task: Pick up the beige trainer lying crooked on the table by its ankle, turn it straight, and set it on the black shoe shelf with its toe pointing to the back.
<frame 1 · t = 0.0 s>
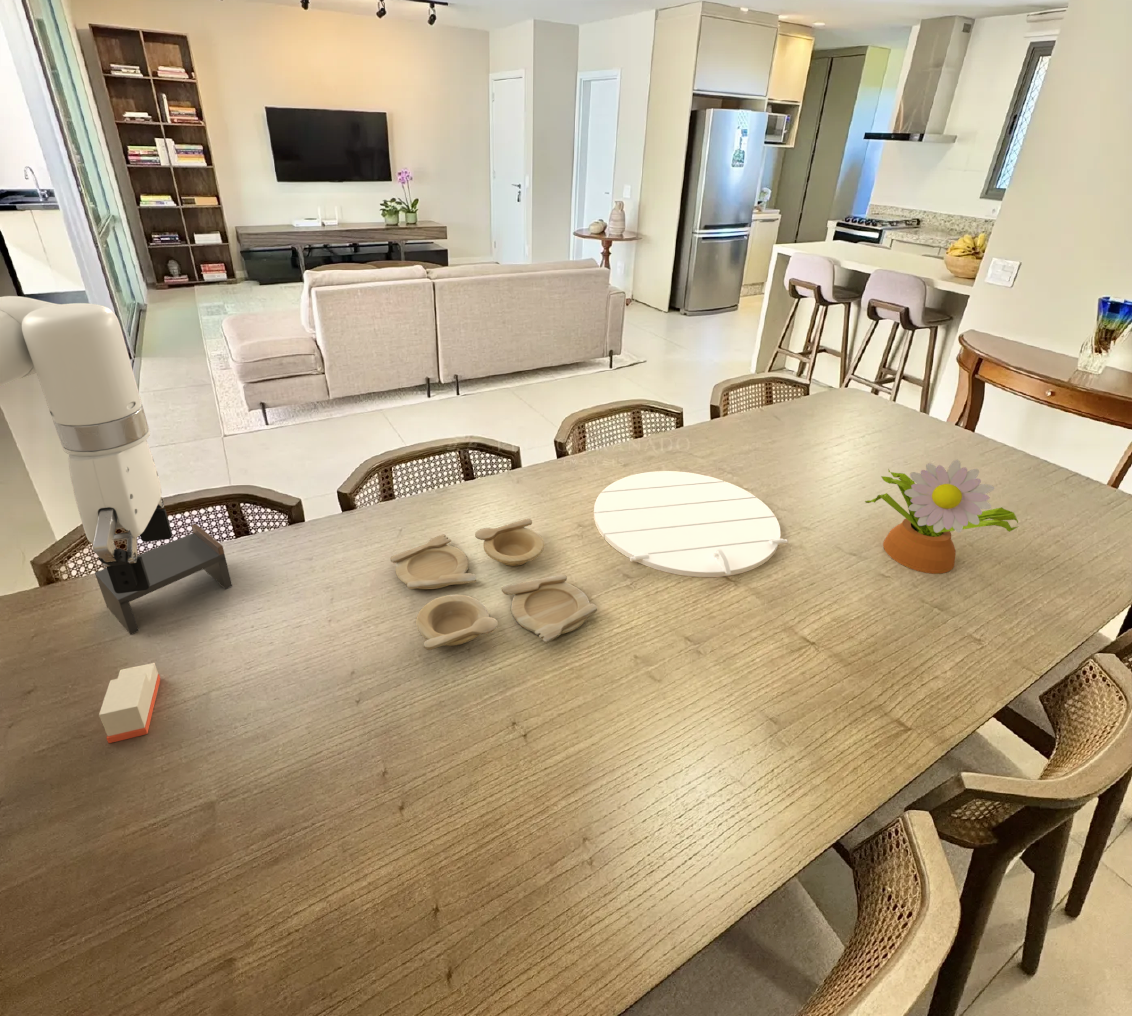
hand: (146, 563, 72), 27 cm above the table, tool pointing down, fingers open, 9 cm apart
tableware set: (488, 590, 113), on the table
decorative plant: (923, 552, 129), on the table
lazy susan: (685, 521, 135), on the table
trainer: (136, 709, 87), on the table
shoe shelf: (171, 596, 108), on the table
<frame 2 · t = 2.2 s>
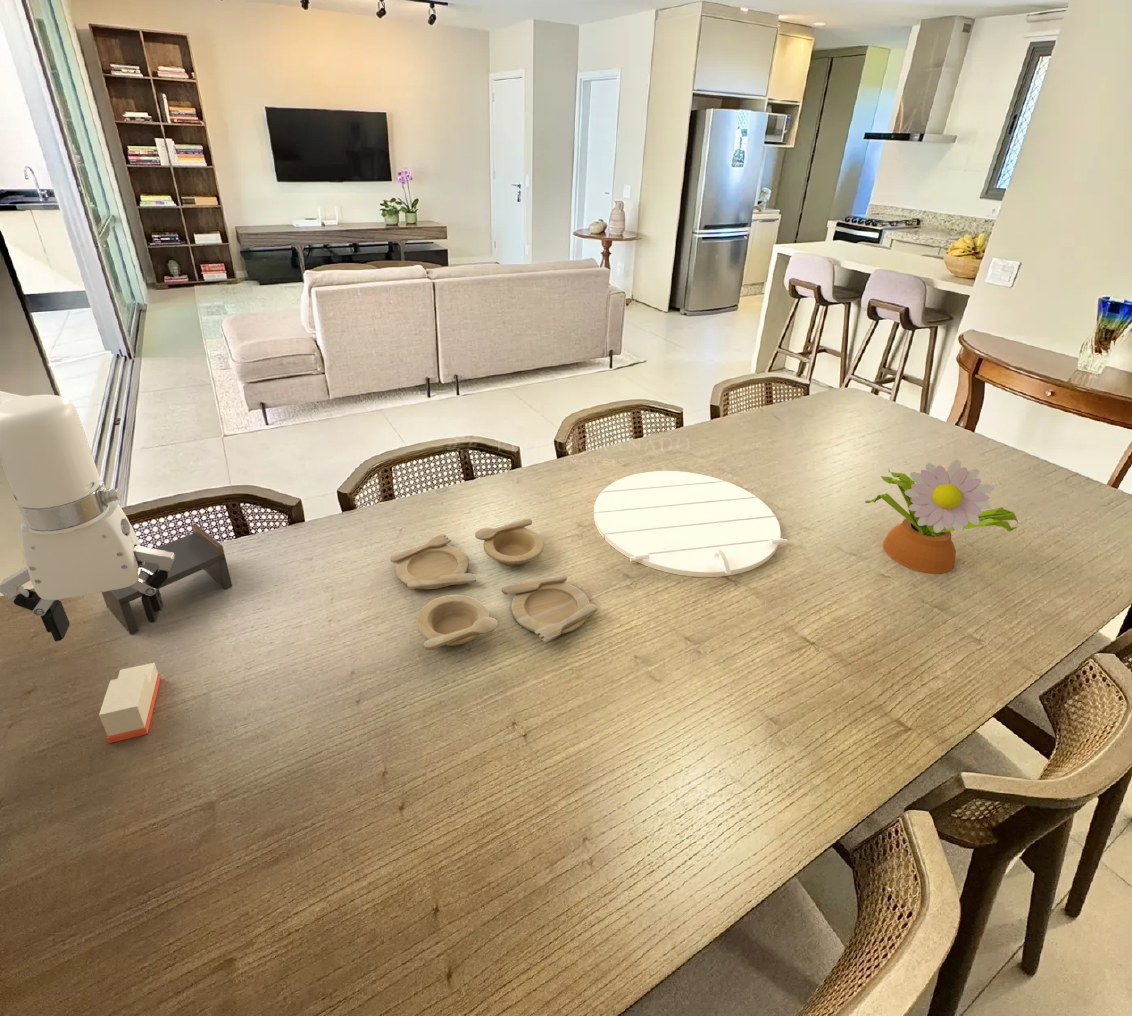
hand: (109, 624, 78), 17 cm above the table, tool pointing down, fingers open, 9 cm apart
nothing on the table moved.
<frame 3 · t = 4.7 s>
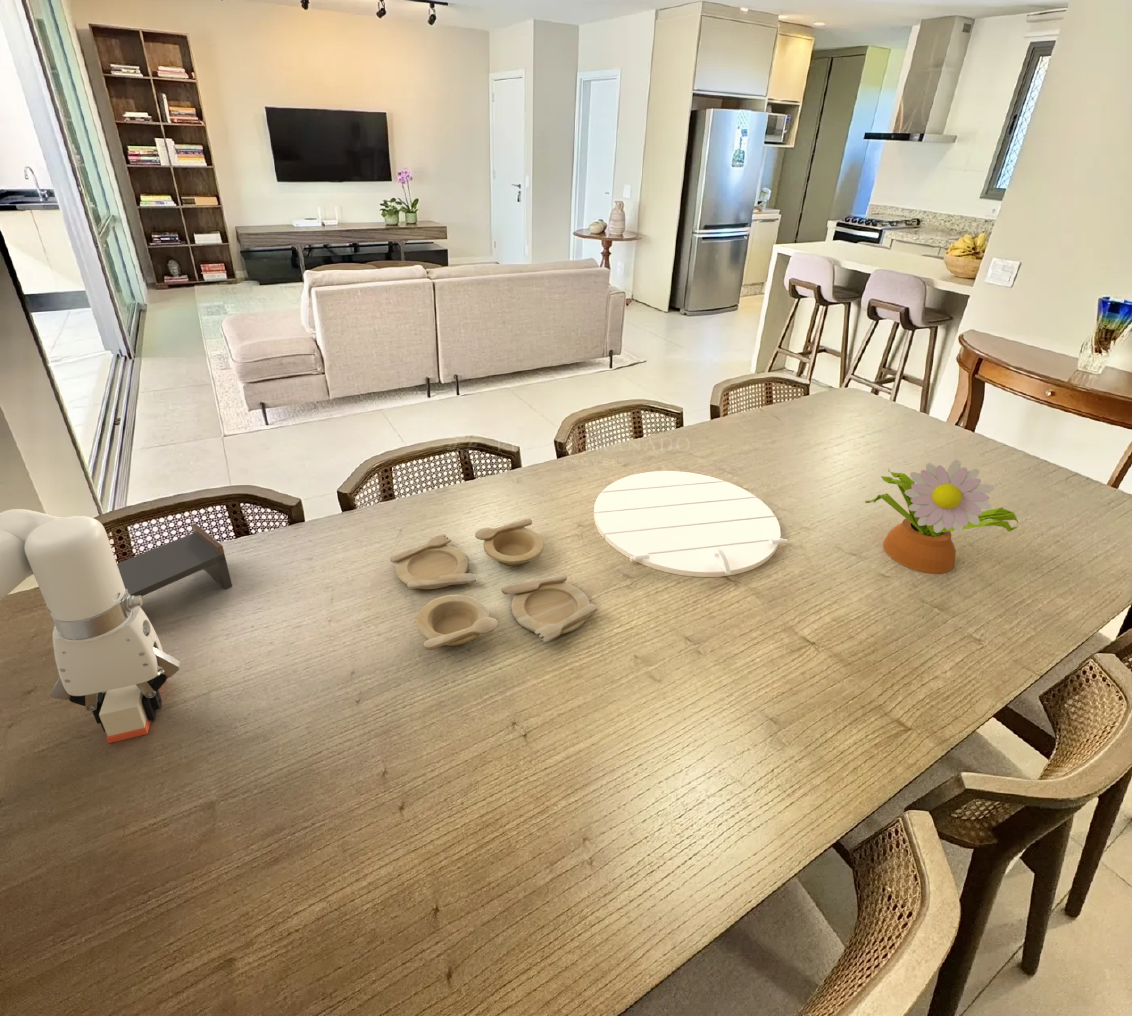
hand: (132, 716, 85), 1 cm above the table, tool pointing down, fingers closed on trainer, 4 cm apart
trainer: (136, 709, 87), on the table, touching gripper
everything else where it was.
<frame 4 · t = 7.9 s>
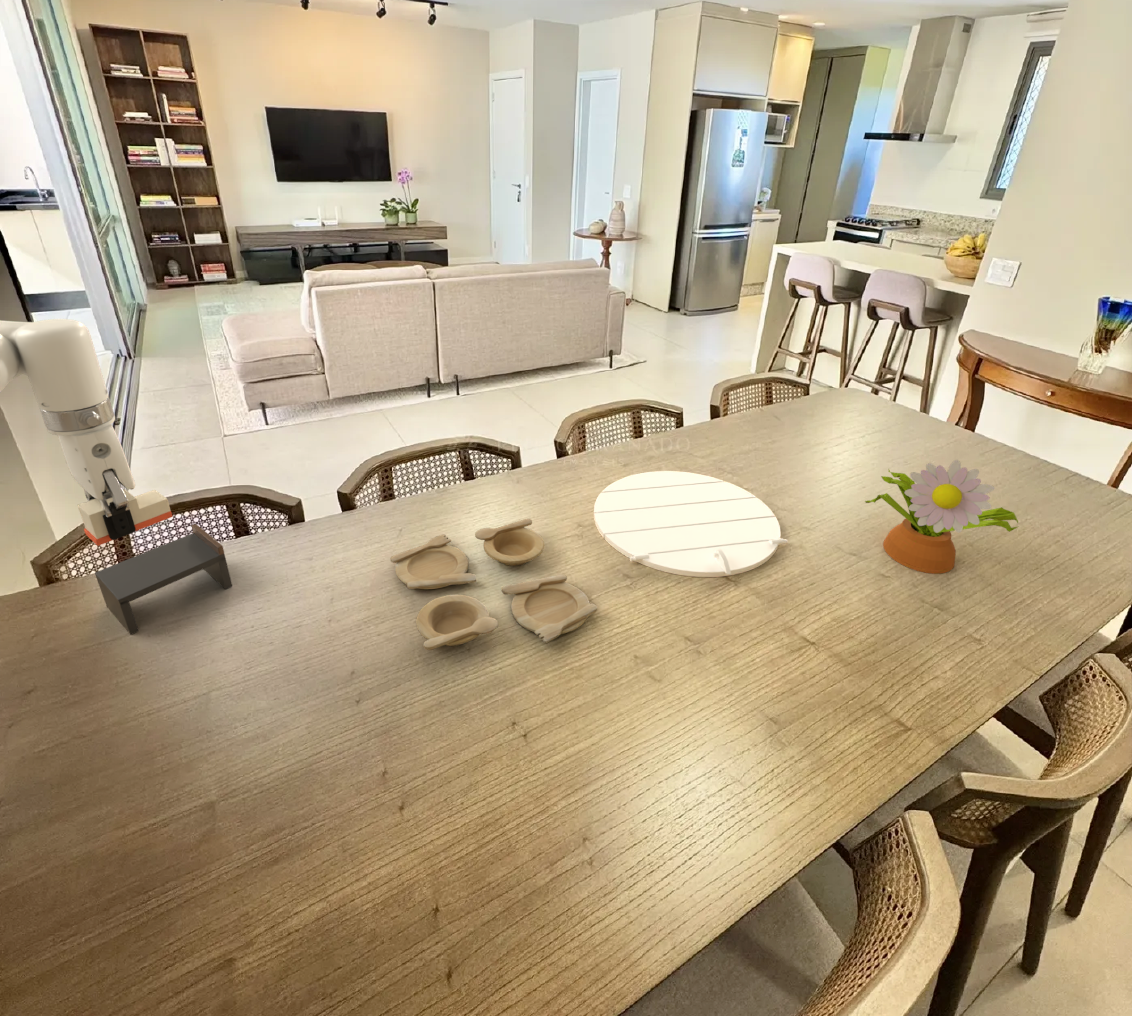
hand: (115, 527, 92), 19 cm above the table, tool pointing down, fingers closed on trainer, 4 cm apart
trainer: (130, 525, 94), point 19 cm above the table, touching gripper
everything else where it was.
when the fingers open (8 cm above the table, at t = 11.5 s): trainer stays where it is, resting on shoe shelf.
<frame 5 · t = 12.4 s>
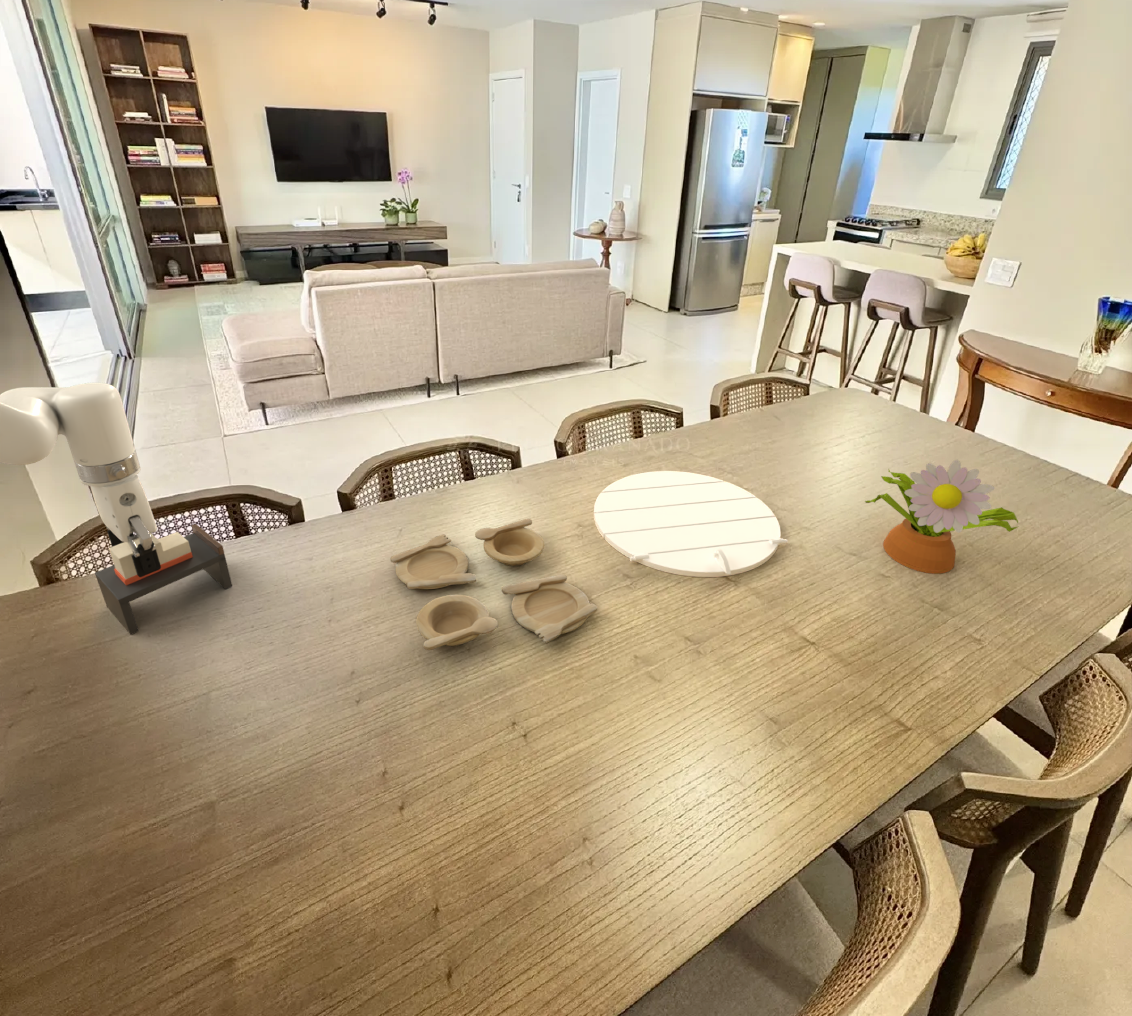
hand: (137, 559, 102), 9 cm above the table, tool pointing down, fingers open, 9 cm apart
trainer: (155, 565, 104), point 7 cm above the table, touching shoe shelf
everything else where it was.
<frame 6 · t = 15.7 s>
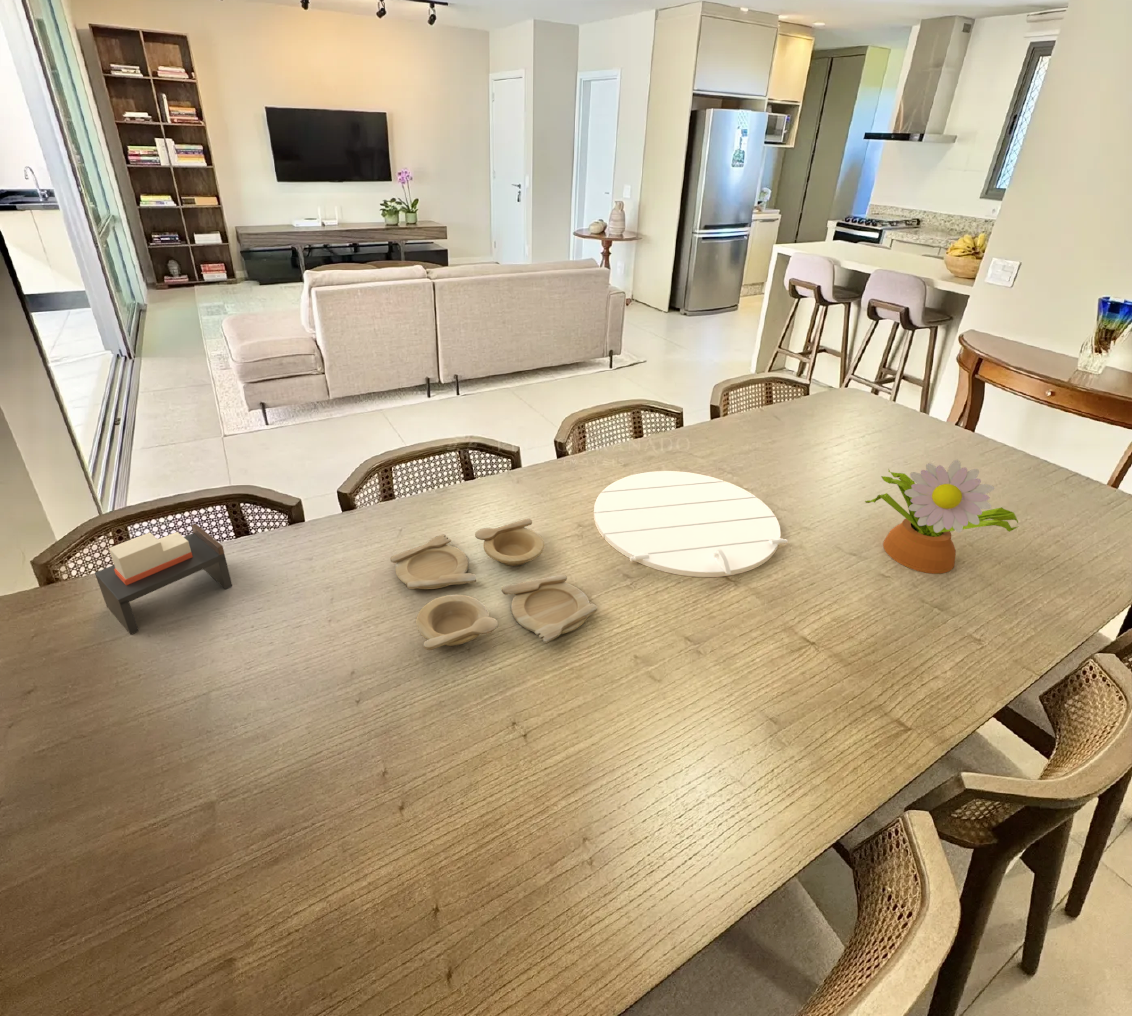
nothing on the table moved.
at the end: trainer 0.2 cm off-centre on the shoe shelf, point 7.0 cm above the shoe shelf's base; trainer tilted 0°; the gripper is holding nothing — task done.
